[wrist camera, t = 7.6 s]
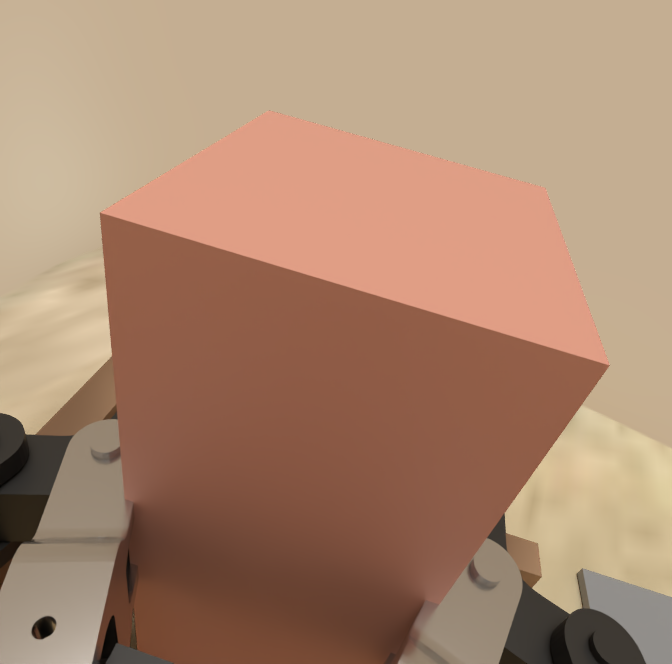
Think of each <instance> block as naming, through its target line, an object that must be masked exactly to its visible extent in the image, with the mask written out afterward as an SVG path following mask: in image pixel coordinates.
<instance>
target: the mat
mask: <svg viewBox="0 0 672 664" xmlns="http://www.w3.org/2000/svg"><path fill="white" fill-rule="evenodd" d="M577 575H578V581H579V586H580V592H581V598H582V603H583V608H589V609H594V610H597V611H600V612H602V613H604V614H606V615H608V616H610V617H611V618H613V619H614V620H615V621H617V622H618V623H619V624H620V625H621V626H622V627H623V628H624V629H625V630H626V631H627V632H628V633H629V634H630V636H631V637H632V638H633V639H634V641H635V643H636V644H637V646H638V647H639V649H640V651H641V653H642V655H643V658H644V660H645V662H646V664H672V597H669V596H666V595H663V594H660V593H657V592H654V591H651V590H647V589H644V588H641V587H638V586H635V585H632V584H629V583H626V582H623V581H620V580H617V579H614V578H611V577H607V576H604V575H601V574H598V573H595V572H592V571H589V570H586V569H583V568H582V569H581V570H580V571H579V572H578V573H577Z"/></svg>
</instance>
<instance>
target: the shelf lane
mask: <svg viewBox="0 0 672 664" xmlns="http://www.w3.org/2000/svg"><path fill="white" fill-rule="evenodd" d="M116 412H117V406H116V394H115V382H114V371H113V359H112V357H111V358H110V359H109V360H108V361H107V362H106V363H105V364H104V365H103V366H102V367H101V368H100V369H99V370H98V371H97V372H96V373H95V374H94V375H93V376H92V377H91V378H90V379H89V380H88V381H87V382H86V383H85V384H84V385H83V387H82V388H81V389H80V390H79V391H78V392H77V393H76V394H75V395H74V396H73V397H72V398H71V399H70V400H69V401H68V402H67V403H66V404H65V405H64V406H63V407H62V408H61V409H60V410H59V411H58V412H57V413H56V414H55V415H54V416H53V417H52V418H51V419H50V420H49V421H48V422H47V423H46V424H45V425H44V426H43V427H42V428H41V429H40V431H39V432H38V433H37V434H36V435H53V436H70V435H75V434H76V433H77V432H78V431H79V430H81V429H82V428H84V427H85V426H87V425H89V424H92V423H94V422H97V421H101V420H107V419H111V418H112V417H113V416H114V414H115V413H116ZM506 545H507V551H508V553H509V554H510V556H511V557H512V558H513V560H514V561H515V563H516V564H517V566H518V568H519V571H520V574H521V577H522V579H523V580H524V581H525V582H526V584H528V585H529V586H530V587H531V588H532V587H533V586H534V585H535V584H536V583H537V581H538V580H539V579H540V578H541V577H542V574H541V566H540V557H539V549H538V543H535V542H531V541H528V540H525V539H522V538H519V537H516V536H513V535H510V534H507V533H506ZM12 559H13V558H12ZM12 559H11V560H10V561H8V562H7V563H6V564H5V565H4V566H3V567H2V568H0V590H1V587H2V585H3V582H4V580H5V577H6V575H7V572H8V569H9V567H10V564H11V562H12Z"/></svg>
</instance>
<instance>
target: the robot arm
mask: <svg viewBox="0 0 672 664" xmlns="http://www.w3.org/2000/svg"><path fill="white" fill-rule="evenodd" d="M134 520H135V514H134V502H132V501H129V500H126V499H124V487H123V475H122V464H121V452H120V441H119V429H118V417H117V412H116V413H115V414H114V416H113V417H112V418H111V419H107V420H101V421H97V422H94V423H92V424H89V425H87V426H85V427H84V428H82V429H81V430H79V431H78V432H77V433H76V434H75V435H70V436H53V435H26V434H25V431H24V428H23V425H22V424H21V422H20V421H19V420H17V419H16V418H14V417H12V416H10V415H7V414H2V413H0V568H2V567H3V566H4V565H5V564H6V563H7V562H8V561H10V560H11V559H12V558H13V559H12V562H11V564H10V567H9V569H8V572H7V575H6V577H5V580H4V582H3V585H2V587H1V590H0V664H174V663H172V662H169V661H167V660H164V659H161V658H158V657H155V656H152V655H150V654H147V653H144V652H141V651H138V650H135V649H133V648H130V639H131V627H132V616H133V608H134V602H135V597H136V591H137V585H138V580H139V573H138V566H137V565H134V564H132V563H130V557H129V544H130V539H131V534H132V529H133V524H134ZM384 664H646V662H645V660H644V658H643V655H642V653H641V651H640V649H639V647H638V646H637V644H636V643H635V641H634V639H633V638H632V637H631V636H630V634H629V633H628V632H627V631H626V630H625V629H624V628H623V627H622V626H621V625H620V624H619V623H618V622H617V621H615V620H614V619H613V618H611V617H610V616H608V615H606V614H604V613H602V612H600V611H597V610H594V609H589V608H582V609H578V610H576V611H574V612H572V613H571V614H568V613H567V612H565V611H564V610H562V609H561V608H559V607H558V606H556V605H555V604H553V603H552V602H550V601H549V600H547V599H546V598H544V597H543V596H541V595H540V594H538V593H537V592H536V591H534V590H533V589H532V588H531V587H530V586H529V585H528V584H526V582H525V581H524V580H523V579H522V577H521V574H520V571H519V568H518V566H517V564H516V563H515V561H514V560H513V558H512V557H511V556H510V554H509V553H508V551H507V545H506V530H505V513H504V514H503V516H502V517H501V519H500V520H499V522H498V523H497V524H496V526H495V527H494V529H493V530H492V531H491V533H490V534H489V536H488V537H487V538H486V540H485V541H484V543H483V544H482V545H481V547H480V548H479V550H478V551H477V552H476V554H475V555H474V557H473V558H472V559H471V561H470V562H469V564H468V565H467V566H466V568H465V569H464V571H463V572H462V573H461V575H460V576H459V578H458V579H457V580H456V582H455V583H454V585H453V586H452V588H451V589H450V590H449V592H448V593H447V595H446V596H445V597H444V599H443V600H442V602H441V603H440V604H436V603H433V602H430V601H427V600H426V601H425V602H424V604H423V605H422V607H421V608H420V610H419V611H418V613H417V614H416V616H415V618H414V620H413V622H412V624H411V626H410V628H409V630H408V632H407V634H406V636H405V638H404V640H403V642H402V644H401V646H400V648H399V650H398V652H397V653H396V654H393V653H390V654H389V656H388V657H387V659H386V660H385V662H384Z"/></svg>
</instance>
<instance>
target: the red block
mask: <svg viewBox="0 0 672 664" xmlns="http://www.w3.org/2000/svg"><path fill="white" fill-rule="evenodd" d="M100 220H101V230H102V243H103V254H104V266H105V278H106V289H107V301H108V313H109V324H110V336H111V348H112V359H113V371H114V382H115V394H116V406H117V417H118V429H119V441H120V452H121V464H122V475H123V487H124V499H126V500H129V501H132V502H134V514H135V520H134V524H133V529H132V534H131V539H130V544H129V557H130V563H132V564H134V565H137V566H138V573H139V580H138V585H137V591H136V597H135V602H134V615H135V627H136V638H137V650H138V651H141V652H144V653H147V654H150V655H152V656H155V657H158V658H161V659H164V660H167V661H169V662H172V663H174V664H384V662H385V660H386V659H387V657H388V656H389V654H390V653H393V654H396V653H397V652H398V650H399V648H400V646H401V644H402V642H403V640H404V638H405V636H406V634H407V632H408V630H409V628H410V626H411V624H412V622H413V620H414V618H415V616H416V614H417V613H418V611H419V610H420V608H421V607H422V605H423V604H424V602H425V601H426V600H427V601H430V602H433V603H436V604H440V603H441V602H442V600H443V599H444V597H445V596H446V595H447V593H448V592H449V590H450V589H451V588H452V586H453V585H454V583H455V582H456V580H457V579H458V578H459V576H460V575H461V573H462V572H463V571H464V569H465V568H466V566H467V565H468V564H469V562H470V561H471V559H472V558H473V557H474V555H475V554H476V552H477V551H478V550H479V548H480V547H481V545H482V544H483V543H484V541H485V540H486V538H487V537H488V536H489V534H490V533H491V531H492V530H493V529H494V527H495V526H496V524H497V523H498V522H499V520H500V519H501V517H502V516H503V514H504V513H505V512H506V510H507V509H508V507H509V506H510V505H511V503H512V502H513V500H514V499H515V498H516V496H517V495H518V493H519V492H520V491H521V489H522V488H523V486H524V485H525V484H526V482H527V481H528V479H529V478H530V477H531V475H532V474H533V472H534V471H535V470H536V468H537V467H538V465H539V464H540V463H541V461H542V460H543V458H544V457H545V456H546V454H547V453H548V451H549V450H550V448H551V447H552V446H553V444H554V443H555V441H556V440H557V439H558V437H559V436H560V434H561V433H562V432H563V430H564V429H565V427H566V426H567V425H568V423H569V422H570V420H571V419H572V418H573V416H574V415H575V413H576V412H577V411H578V409H579V408H580V406H581V405H582V404H583V402H584V401H585V399H586V398H587V396H588V395H589V394H590V392H591V391H592V390H593V388H594V387H595V385H596V384H597V382H598V381H599V380H600V378H601V377H602V375H603V374H604V373H605V371H606V370H607V368H608V367H609V366H610V365H609V362H608V359H607V357H606V354H605V351H604V348H603V346H602V343H601V340H600V337H599V335H598V332H597V329H596V326H595V324H594V321H593V318H592V315H591V313H590V310H589V307H588V304H587V302H586V299H585V296H584V294H583V291H582V288H581V285H580V282H579V279H578V277H577V274H576V271H575V268H574V266H573V263H572V260H571V257H570V255H569V252H568V249H567V246H566V244H565V241H564V238H563V235H562V233H561V230H560V227H559V224H558V222H557V219H556V216H555V213H554V211H553V208H552V205H551V203H550V199H549V197H548V194H547V191H546V188H544V187H540V186H536V185H533V184H530V183H526V182H523V181H519V180H515V179H512V178H508V177H505V176H501V175H497V174H494V173H490V172H487V171H483V170H480V169H476V168H473V167H469V166H466V165H461V164H458V163H455V162H451V161H448V160H444V159H441V158H437V157H433V156H430V155H426V154H423V153H419V152H416V151H412V150H408V149H405V148H401V147H398V146H394V145H391V144H387V143H383V142H380V141H376V140H373V139H369V138H366V137H362V136H358V135H355V134H351V133H348V132H344V131H340V130H337V129H333V128H330V127H327V126H322V125H319V124H316V123H312V122H309V121H305V120H302V119H298V118H294V117H291V116H287V115H283V114H280V113H276V112H273V111H267V112H265V113H264V114H262V115H261V116H259V117H257V118H255V119H254V120H252V121H251V122H249V123H247V124H246V125H244V126H242V127H241V128H239V129H237V130H236V131H234V132H232V133H231V134H229V135H227V136H226V137H224V138H222V139H221V140H219V141H218V142H216V143H214V144H213V145H211V146H209V147H208V148H206V149H204V150H203V151H201V152H199V153H198V154H196V155H194V156H193V157H191V158H189V159H188V160H186V161H184V162H183V163H181V164H180V165H178V166H176V167H174V168H173V169H172V170H170V171H168V172H166V173H165V174H163V175H161V176H160V177H158V178H157V179H155V180H153V181H152V182H150V183H148V184H146V185H145V186H143V187H141V188H140V189H138V190H136V191H135V192H133V193H132V194H130V195H128V196H127V197H125V198H123V199H122V200H120V201H118V202H117V203H115V204H113V205H112V206H110V207H109V208H107V209H105V210H103V211H102V212H100Z"/></svg>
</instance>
